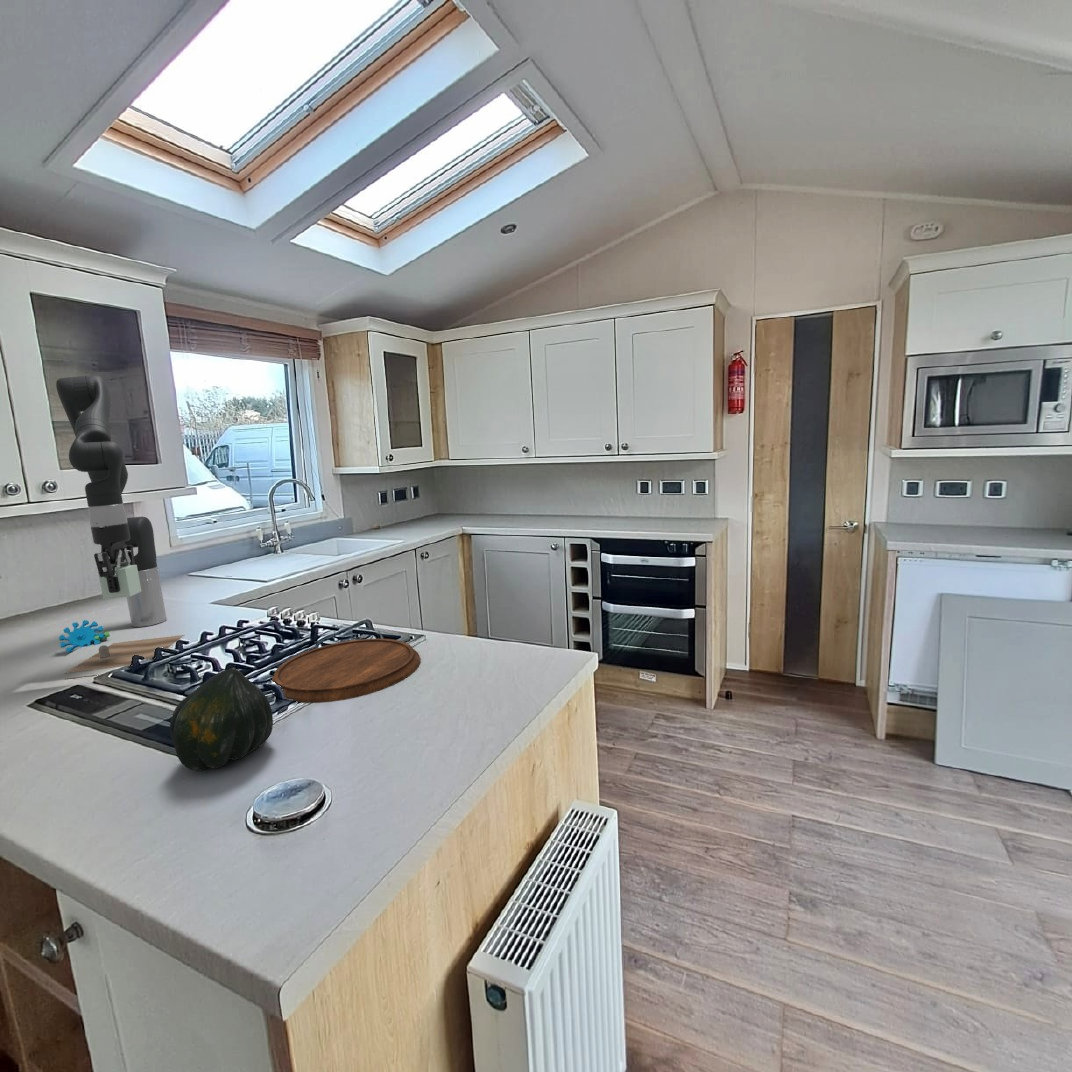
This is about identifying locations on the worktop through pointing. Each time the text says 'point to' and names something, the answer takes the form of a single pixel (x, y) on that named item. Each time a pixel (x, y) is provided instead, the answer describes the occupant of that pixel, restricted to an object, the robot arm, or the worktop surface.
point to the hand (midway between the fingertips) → (121, 589)
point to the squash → (220, 721)
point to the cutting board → (346, 670)
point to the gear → (83, 635)
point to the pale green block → (123, 583)
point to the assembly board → (123, 653)
